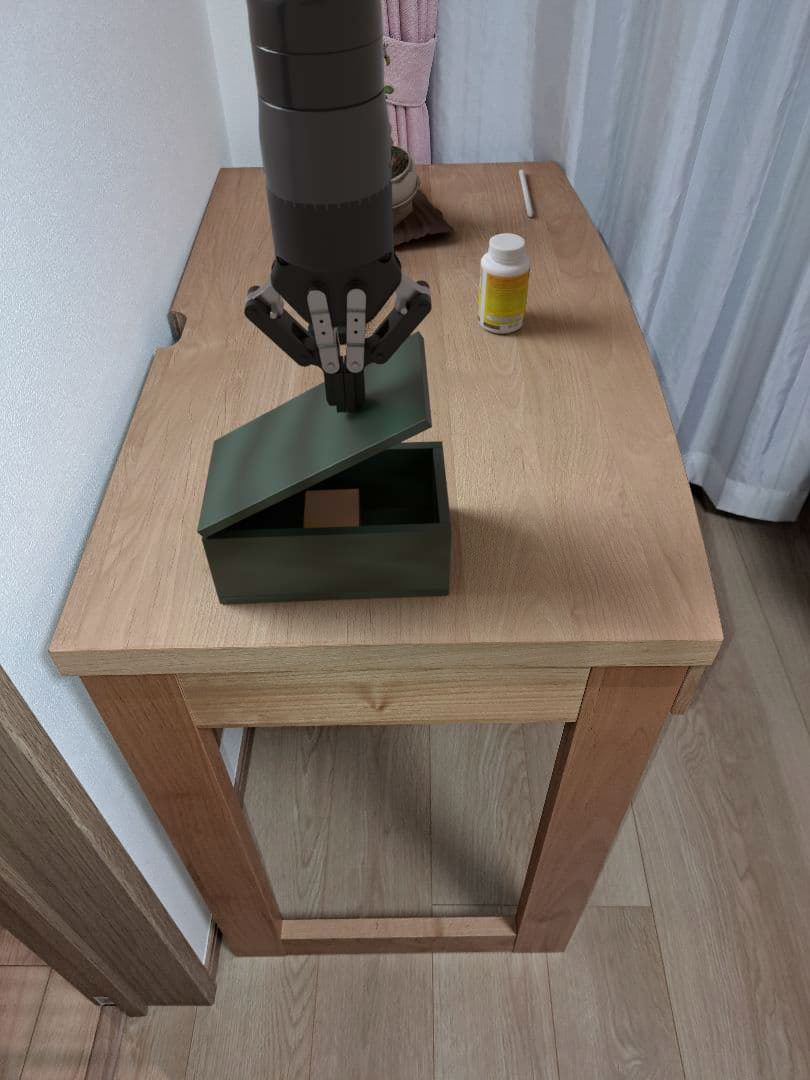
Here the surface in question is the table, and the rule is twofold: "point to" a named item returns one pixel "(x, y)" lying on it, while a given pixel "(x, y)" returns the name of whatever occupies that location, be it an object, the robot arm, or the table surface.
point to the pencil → (526, 193)
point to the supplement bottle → (503, 284)
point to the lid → (314, 439)
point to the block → (332, 508)
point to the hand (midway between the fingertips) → (347, 405)
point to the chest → (346, 538)
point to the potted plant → (410, 195)
